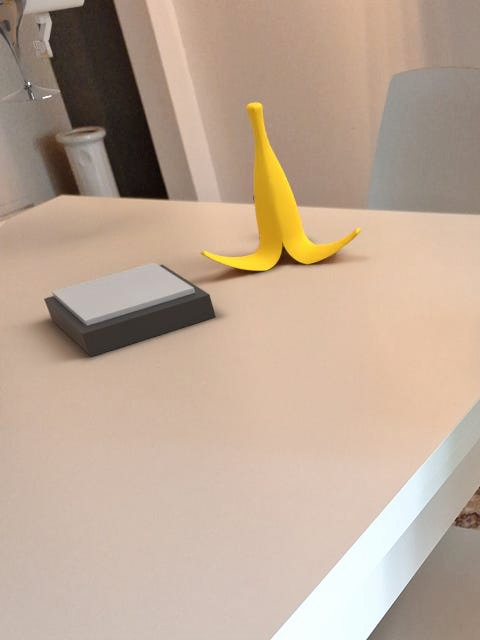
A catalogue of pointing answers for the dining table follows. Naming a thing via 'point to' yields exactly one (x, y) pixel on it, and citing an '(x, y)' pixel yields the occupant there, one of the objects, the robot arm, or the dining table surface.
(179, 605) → the dining table surface
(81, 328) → the scale
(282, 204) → the banana peel
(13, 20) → the wine glass
